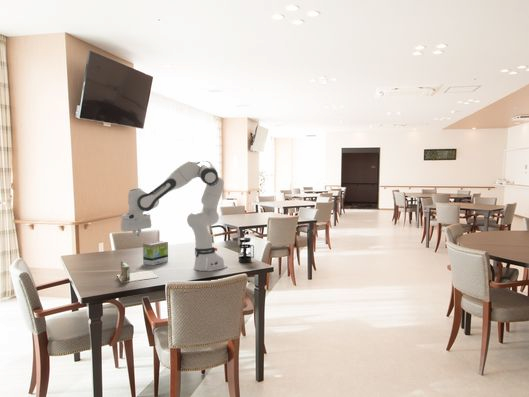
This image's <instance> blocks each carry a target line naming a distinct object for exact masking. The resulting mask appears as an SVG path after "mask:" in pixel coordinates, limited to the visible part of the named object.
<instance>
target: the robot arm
mask: <svg viewBox="0 0 529 397" xmlns="http://www.w3.org/2000/svg"><path fill="white" fill-rule="evenodd" d="M196 178H200V179H201V181H202V182H203V183H205V187H204V191H203V194H202V197H201V199H200V202H201V204H202V205H203V206H202V209H201V210H196V211H193V212H191V213H190V214H188V216H187V219H186V222H187V225H188V226H189V227H190V228H191V229H192V231H193V234H194V237H195V238H194V240H195V248H194V256H195V258H194V260H195V261H194V266H193V270H194V271H201V272H212V271H217V270H221V269H226V268H228V264H226V263H225V262H224V257H222V255H219V254H218V253H217V251H218V249H219V248H217V247H214V246H213V236H212V234H211V233H210V232H209V230H208V227H211V226H213V225H215V224H217V223H218V222H219V219H220V217H219V213H218V205H219V201H220V199H221V197H222V196H221V195H222V194H223V190H224V184H225V182H224V180H223V178H222V177H220V176H219V173H218V171H217V169H216V167H215V166H214V165H213V164H212V163H211V162H210V161H207V160H201V161H197V162H195V161H194V160H188V161H187V162H185V163H183V164H181V165H180V166H179V167H177V168H175V170H174V171H173V172H171V173H170V174H169V176H168V177H166V179H165V180H164V181H163V182H162V183H161V184H160V185H158V186H157V187H156V188H154V189H153V190H152V191H150V192H148V191H146V190H144V189H142V188H140V187H139V188H134V189H133V188H132V189H130V190H129V191H128V196H127V204H128V212H126V213H124V214H122V215H121V217H120V218H121V220H120V230H121V232H125V233H126V232H132V234H133V236H134V238H139V237H141V232H142V230H144V229H145V230H146V229H151V228H152V220H151V214H149V213H145V212H149V211H151V210H152V209H156V207H158V206H159V205H160V204H159V203H160V199H161V198H162V197H164V196H165V195H167V194H168V193H170V192H171V191H172V192H173V191H174V190H177V189H180V188H182V187H185V186H186V185H187V184H189V182H191V181H192V180H194V179H196Z"/></svg>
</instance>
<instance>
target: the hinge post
mask: <svg viewBox="0 0 529 397" xmlns="http://www.w3.org/2000/svg"><path fill="white" fill-rule="evenodd" d="M122 262H125V263H126V261H125V260H123V261H120V274H118V275H120V276H122Z"/></svg>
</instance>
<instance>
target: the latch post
mask: <svg viewBox="0 0 529 397" xmlns="http://www.w3.org/2000/svg"><path fill="white" fill-rule="evenodd" d="M119 281H120V280H119ZM120 283H121V284H126V283H130V282H129V281H127V277H126V266H124V267H122V280H121V281H120Z"/></svg>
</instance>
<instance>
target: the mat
mask: <svg viewBox="0 0 529 397" xmlns="http://www.w3.org/2000/svg"><path fill="white" fill-rule="evenodd" d="M117 276H118V277H117ZM116 277H117V278H118V280H119V281H121V280H122V276H120V275H119V274H117V275H116ZM151 279H159V277H158V276H157V274H155V272H153V271H152V270H144V271H137V272H136V271H135V272H130V280H128V281H129V282H128V283H131V282H137V281H139V282H140V281H145V280H151Z"/></svg>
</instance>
